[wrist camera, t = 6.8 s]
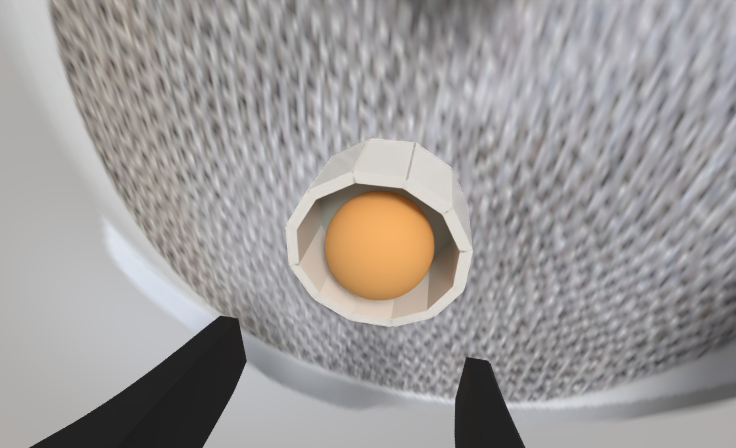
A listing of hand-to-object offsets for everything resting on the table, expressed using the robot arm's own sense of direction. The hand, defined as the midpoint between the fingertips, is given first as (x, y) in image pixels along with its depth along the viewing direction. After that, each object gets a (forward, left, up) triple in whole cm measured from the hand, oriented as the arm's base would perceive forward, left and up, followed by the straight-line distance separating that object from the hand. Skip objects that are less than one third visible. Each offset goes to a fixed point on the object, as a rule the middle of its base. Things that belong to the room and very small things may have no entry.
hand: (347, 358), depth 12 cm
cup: (0, 0, -9) cm, 9 cm away
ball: (0, 0, -6) cm, 6 cm away
